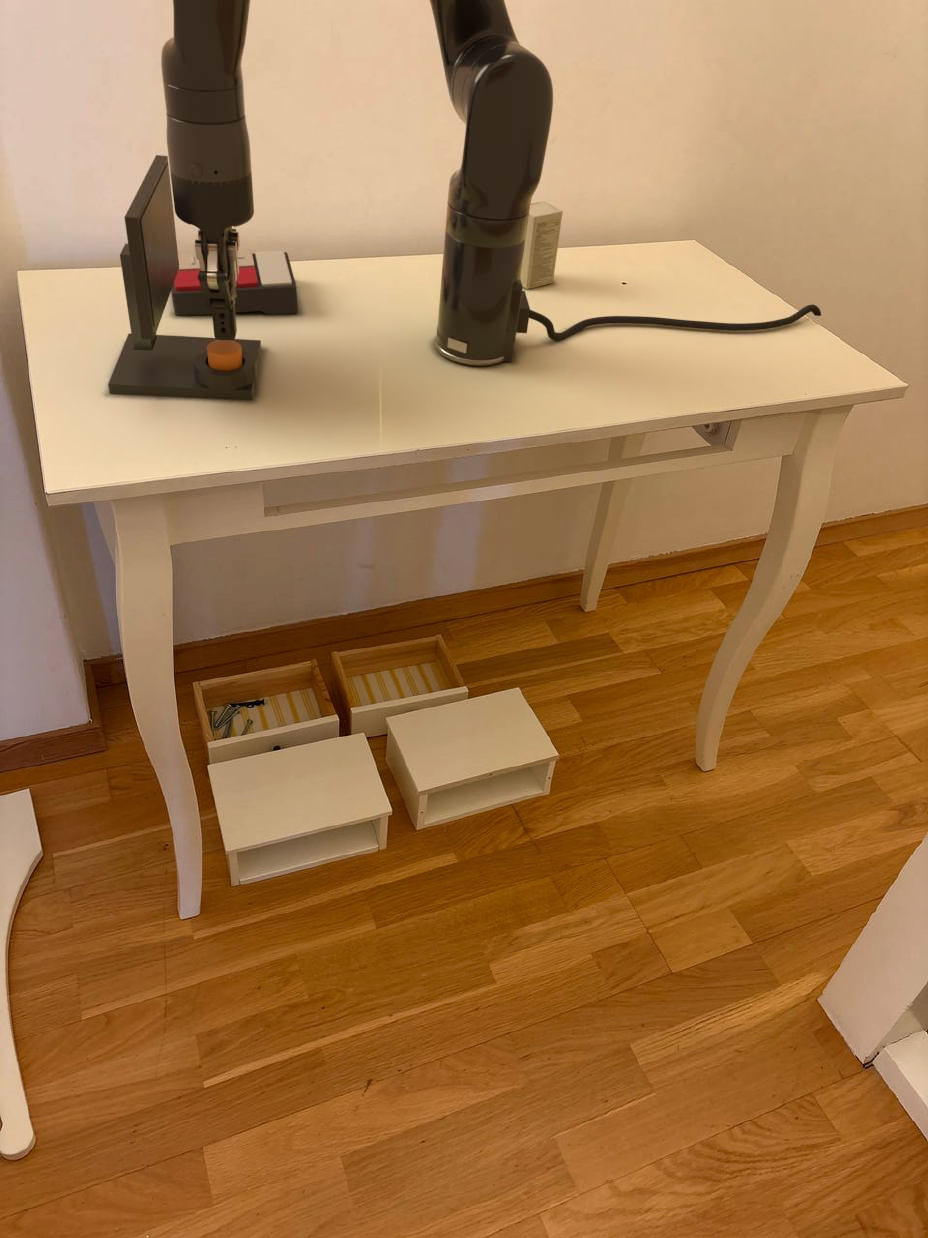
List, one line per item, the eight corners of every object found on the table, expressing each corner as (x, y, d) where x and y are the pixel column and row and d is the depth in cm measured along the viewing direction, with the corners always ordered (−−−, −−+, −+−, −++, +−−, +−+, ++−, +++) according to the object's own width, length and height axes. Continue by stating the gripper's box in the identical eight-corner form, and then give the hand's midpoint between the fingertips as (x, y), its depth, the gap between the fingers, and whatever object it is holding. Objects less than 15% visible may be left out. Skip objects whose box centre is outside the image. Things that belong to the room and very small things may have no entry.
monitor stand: (156, 337, 106) (144, 244, 99) (152, 350, 104) (139, 255, 97) (138, 336, 106) (125, 243, 99) (133, 349, 104) (119, 254, 97)
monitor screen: (180, 267, 109) (168, 155, 101) (154, 340, 95) (138, 217, 87) (162, 266, 108) (149, 154, 100) (134, 339, 95) (116, 216, 87)
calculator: (168, 251, 122) (286, 245, 125) (173, 283, 125) (289, 277, 128) (170, 287, 114) (296, 280, 117) (175, 321, 117) (298, 313, 120)
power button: (243, 357, 106) (242, 339, 104) (240, 372, 103) (239, 355, 102) (210, 355, 105) (209, 338, 104) (206, 371, 102) (204, 353, 101)
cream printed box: (534, 272, 138) (545, 200, 131) (553, 283, 135) (565, 211, 129) (506, 277, 135) (515, 204, 129) (525, 289, 133) (535, 215, 126)
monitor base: (263, 349, 113) (262, 325, 111) (254, 401, 104) (253, 376, 102) (129, 342, 111) (126, 318, 109) (109, 395, 102) (104, 369, 100)
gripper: (245, 191, 86) (257, 368, 97) (256, 145, 96) (266, 311, 107) (159, 186, 85) (181, 365, 97) (179, 141, 95) (197, 308, 106)
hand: (225, 336), depth 102 cm, fingers closed
